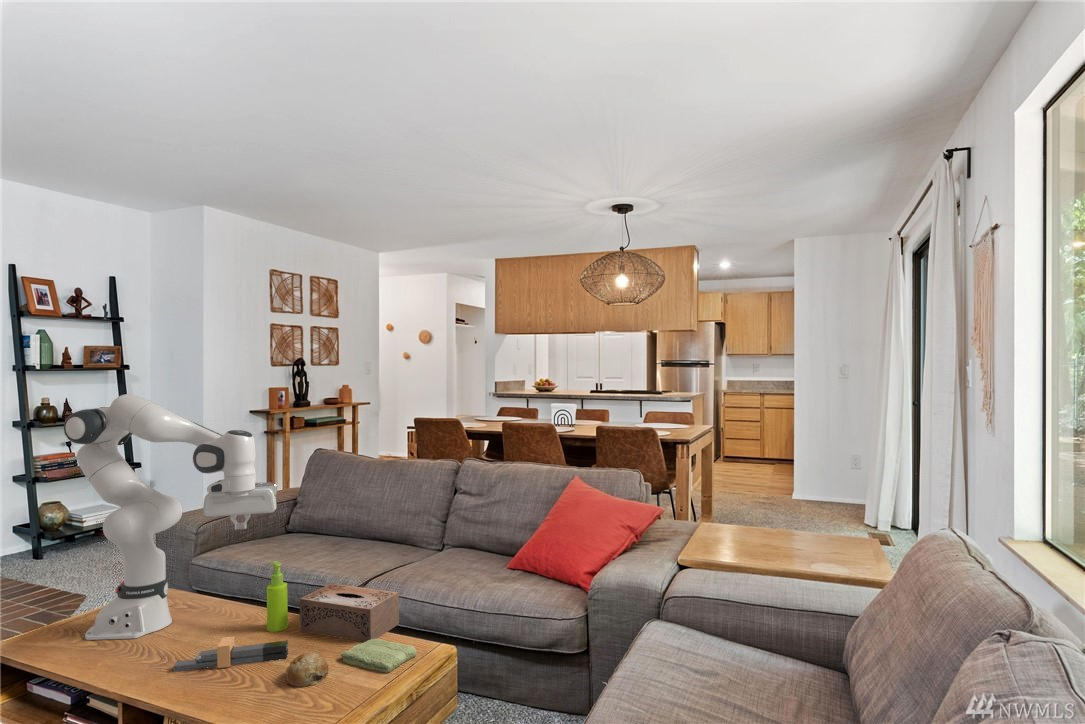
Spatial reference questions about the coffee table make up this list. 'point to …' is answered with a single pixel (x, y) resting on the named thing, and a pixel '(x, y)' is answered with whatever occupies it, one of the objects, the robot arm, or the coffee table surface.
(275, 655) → the tongs lower arm
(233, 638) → the tan hook block
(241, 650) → the tongs upper arm
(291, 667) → the bread roll
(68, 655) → the coffee table surface
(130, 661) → the coffee table surface
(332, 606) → the tissue box cover
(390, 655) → the washcloth
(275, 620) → the soap dispenser
